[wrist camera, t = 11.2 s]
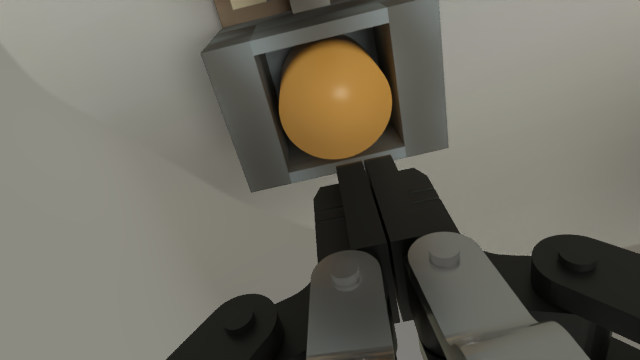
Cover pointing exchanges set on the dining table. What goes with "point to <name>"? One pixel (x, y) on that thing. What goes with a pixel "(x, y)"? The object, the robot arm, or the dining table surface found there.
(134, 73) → the dining table surface
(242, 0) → the carriage
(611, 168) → the dining table surface
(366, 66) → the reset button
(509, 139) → the dining table surface
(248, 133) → the stand
